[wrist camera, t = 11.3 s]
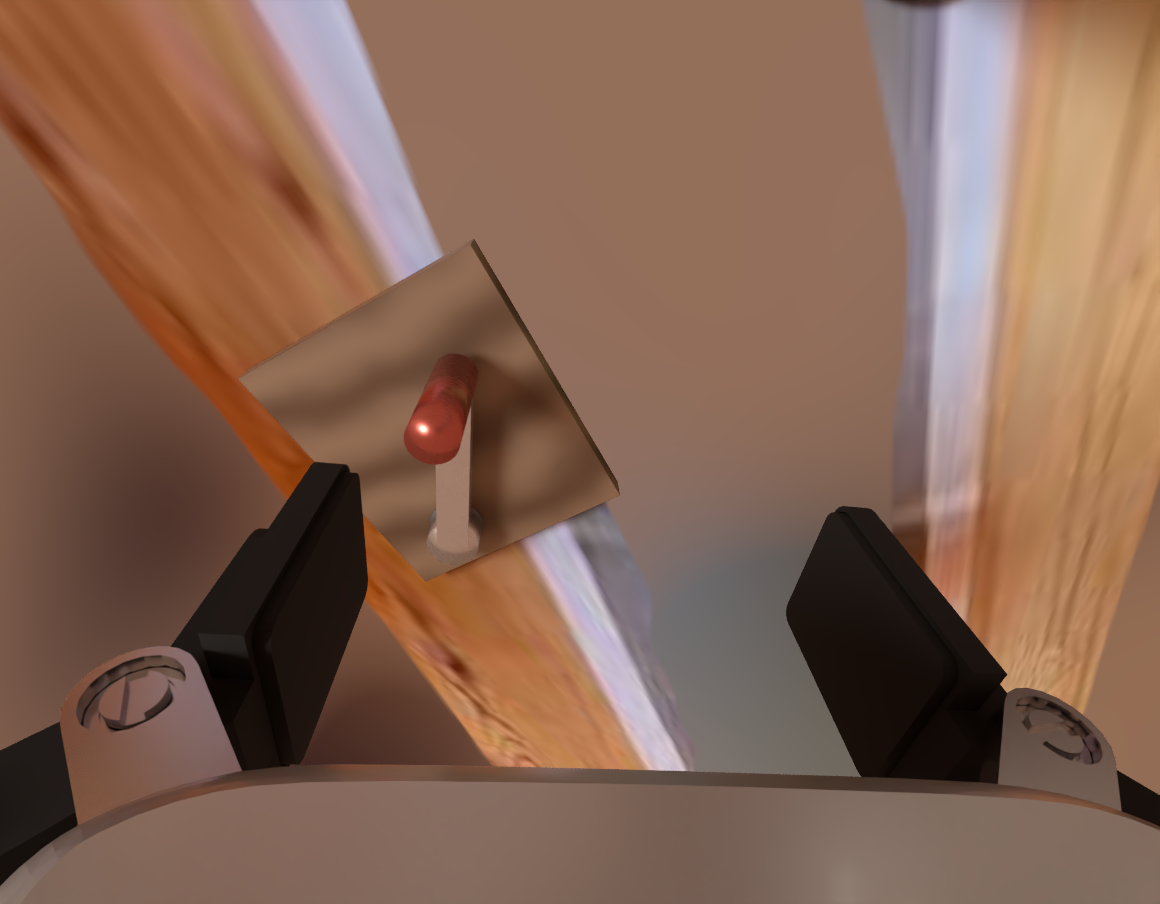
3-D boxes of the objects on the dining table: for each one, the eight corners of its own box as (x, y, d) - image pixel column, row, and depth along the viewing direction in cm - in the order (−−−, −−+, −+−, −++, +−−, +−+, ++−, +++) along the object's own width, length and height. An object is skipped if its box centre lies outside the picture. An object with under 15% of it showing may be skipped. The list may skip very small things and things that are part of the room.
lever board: (251, 367, 41) (236, 380, 39) (474, 238, 37) (469, 245, 35) (429, 565, 51) (425, 582, 49) (617, 481, 47) (620, 496, 45)
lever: (428, 345, 38) (392, 413, 29) (487, 351, 38) (470, 419, 30) (431, 544, 47) (405, 641, 38) (480, 547, 47) (465, 644, 38)
